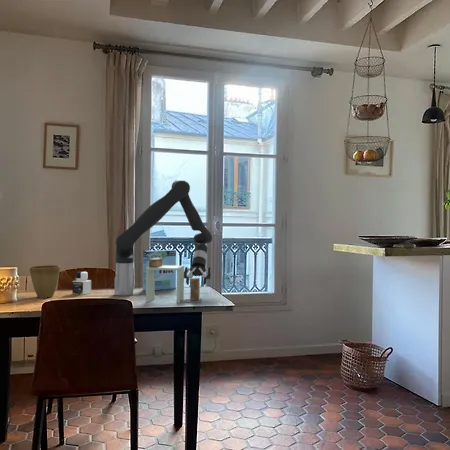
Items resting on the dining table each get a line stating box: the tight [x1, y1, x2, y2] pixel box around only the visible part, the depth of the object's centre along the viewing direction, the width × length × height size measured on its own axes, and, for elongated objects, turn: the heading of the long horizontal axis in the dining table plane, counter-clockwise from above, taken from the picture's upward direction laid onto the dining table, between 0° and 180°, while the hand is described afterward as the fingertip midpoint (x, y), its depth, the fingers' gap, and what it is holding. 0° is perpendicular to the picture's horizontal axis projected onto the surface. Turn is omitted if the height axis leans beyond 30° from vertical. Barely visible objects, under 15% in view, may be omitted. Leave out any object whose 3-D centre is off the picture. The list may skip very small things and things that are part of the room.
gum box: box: [142, 249, 177, 292], centre depth 269 cm, size 20×5×23 cm, turn 123°
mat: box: [182, 298, 202, 304], centre depth 228 cm, size 8×8×1 cm
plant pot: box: [29, 264, 61, 299], centre depth 238 cm, size 15×15×16 cm
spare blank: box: [149, 258, 162, 268], centre depth 231 cm, size 4×11×4 cm, turn 174°
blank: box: [189, 277, 201, 301], centre depth 228 cm, size 4×4×11 cm
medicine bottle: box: [71, 271, 92, 296], centre depth 251 cm, size 7×7×12 cm
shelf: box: [145, 265, 185, 304], centre depth 231 cm, size 17×13×17 cm
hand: (195, 284), depth 238 cm, fingers open, 8 cm apart
